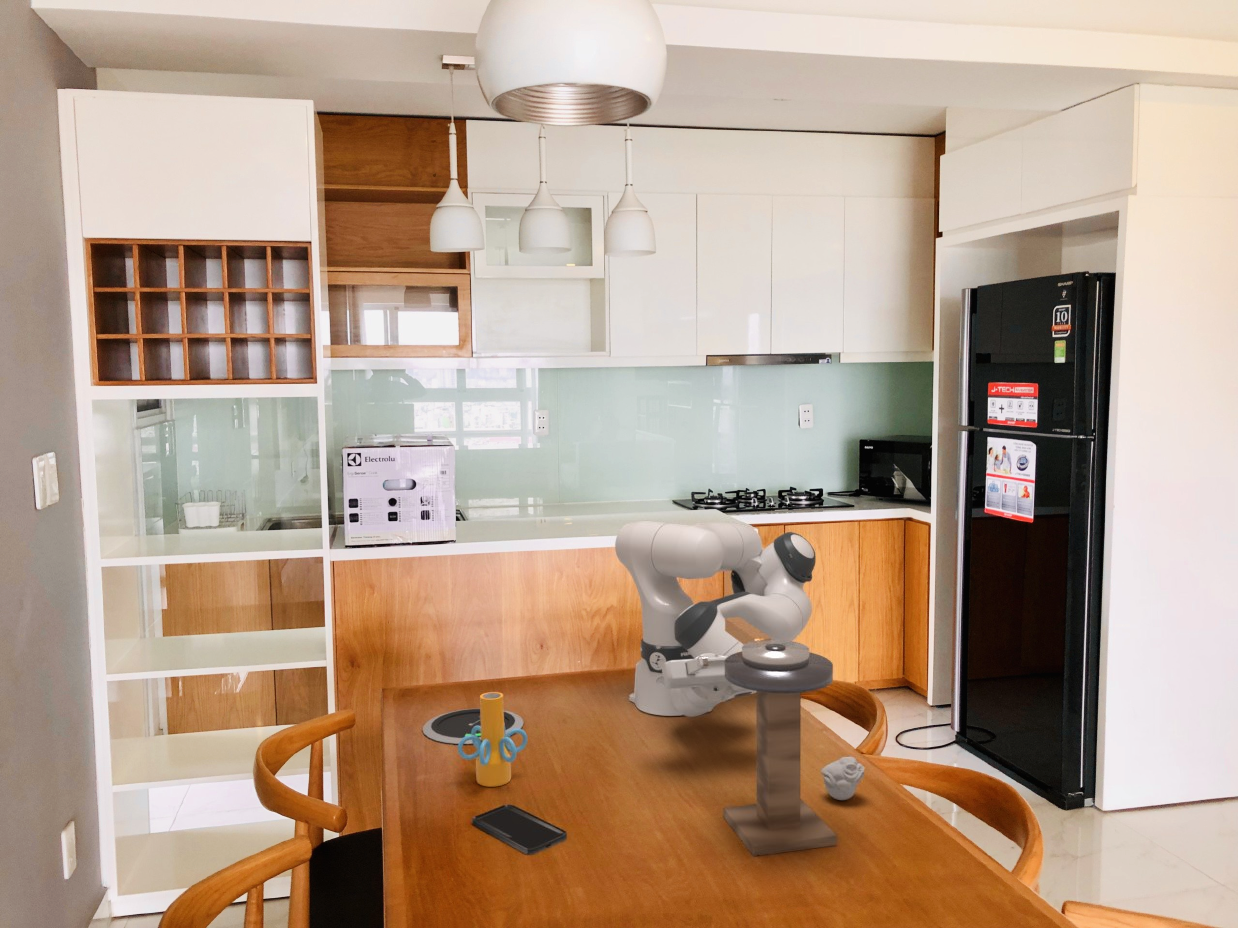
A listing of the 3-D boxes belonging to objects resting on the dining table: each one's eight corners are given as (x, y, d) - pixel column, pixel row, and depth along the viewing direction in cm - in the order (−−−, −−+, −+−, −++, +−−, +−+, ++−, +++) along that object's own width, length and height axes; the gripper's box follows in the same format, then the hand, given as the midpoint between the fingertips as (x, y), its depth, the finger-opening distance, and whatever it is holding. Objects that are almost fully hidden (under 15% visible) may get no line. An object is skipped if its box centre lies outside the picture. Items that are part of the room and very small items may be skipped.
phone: (509, 802, 154) (569, 832, 143) (509, 809, 154) (570, 839, 143) (468, 818, 148) (528, 850, 138) (468, 825, 149) (528, 858, 138)
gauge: (525, 742, 183) (525, 737, 183) (419, 749, 180) (419, 744, 180) (521, 707, 202) (521, 703, 202) (425, 713, 200) (425, 709, 199)
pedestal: (711, 813, 151) (710, 652, 148) (805, 802, 154) (805, 644, 152) (747, 862, 135) (747, 683, 133) (851, 848, 139) (852, 674, 137)
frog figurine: (863, 809, 151) (864, 766, 151) (818, 804, 154) (819, 762, 153) (865, 793, 157) (865, 752, 157) (822, 788, 159) (822, 748, 159)
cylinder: (512, 797, 158) (509, 709, 156) (452, 792, 160) (450, 705, 158) (533, 768, 170) (531, 686, 168) (477, 764, 172) (475, 683, 170)
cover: (704, 632, 161) (704, 618, 161) (760, 628, 163) (760, 614, 163) (756, 673, 137) (756, 658, 137) (820, 668, 140) (820, 652, 139)
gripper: (651, 665, 173) (669, 644, 161) (758, 658, 177) (783, 637, 165) (655, 700, 170) (674, 682, 158) (764, 692, 174) (789, 673, 162)
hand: (730, 659), depth 161 cm, fingers open, 8 cm apart
